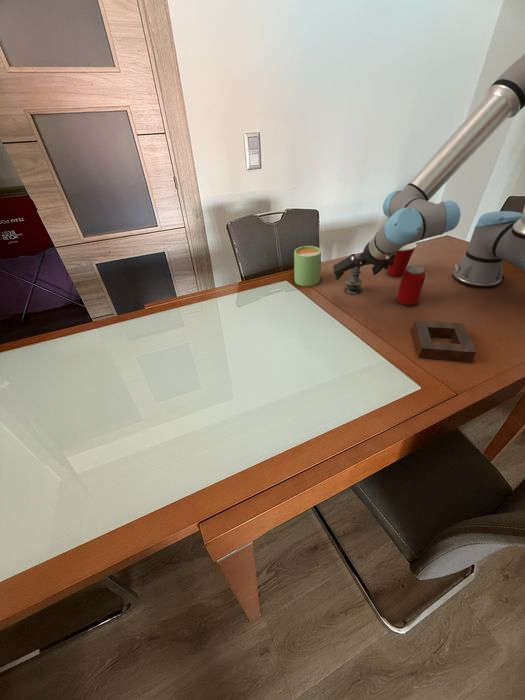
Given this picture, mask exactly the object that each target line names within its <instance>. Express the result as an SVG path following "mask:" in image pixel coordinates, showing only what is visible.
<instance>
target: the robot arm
mask: <svg viewBox="0 0 525 700" xmlns="http://www.w3.org/2000/svg"><path fill="white" fill-rule="evenodd" d="M523 108H525V53H524V54H522V55H521V56H520V57H519V58H518V59H516V60H515V61H514V62H513V63H512V64H511V65H510V66H509V67H508V68H507V69H505V70H504V71H503V73H501V74H500V75H499V76H498V77H497V79H496V80H495V81H494V82H493V83H492V84H491V85H490V86H489V87H488V89H487V90H486V91H485V95H484V99H483V100H482V101H481V102H480V103H479V104H478V106H476V108H475V109H474V110H473V111H472V112H471V113H470V114H469V115H468V117H467V118H465V120H464V121H463V122H462V123H461V125H459V126H458V127H457V129H456V130H455V131H454V132H453V133H452V134H451V135H450V136H449V138H448V139H447V140H446V141H445V142H444V143H443V145H441V146H440V148H439V149H438V150H437V151H436V152H435V153H434V154H433V156H431V158H430V159H429V160H427V162H426V163H425V164H424V165H423V166H422V167H421V169H420V170H419V171H418V172H417V173H416V174H415V175H414V176H413V177H412V179H410V181H409V182H408V183H407V184H406V185H405V186H404V188H402V190H394V191H392V192H390V193H389V194H388V195H387V196H386V197H385V199H384V200H383V204H382V212H383V214H384V216H386V217H387V220H386V221H385V222H384V224H383V226H381V228H380V229H379V230H378V231H377V232H376V233H375V234H374V235H373V236H372V238H371V239H370V240H369V241H368V242H367V244H366V245H364V248H363V251H362V253H360V254H357V255H355V253H351V254H350V255H349V256H347V257H346V258H344V259H342V260H341V261H339V262H337V263H336V264H334V265H332V269H333V274H334V275H335V280H336V281H338V280H340V278H342V277H343V275H344V274H345V272H348V271H351V269H353V268H355V267H360V268H362V267H364V266H369V265H372V267H371V271H372V276H376V275H377V274H379V273H380V272H381V271H382V270H384V271H387V269H388V265H390V266H393V265H394V258H395V257H396V256H395V253H396V252H397V251H398V250H399V249H401V248H402V247H403V246H405V245H408V244H411V243H417V242H420V241H424V240H428V239H430V238H433V237H437V236H441V235H443V234H445V233H448V232H451V231H452V230H453V231H454V229H456V227H458V225H459V223H460V220H461V209H460V206H459V204H457V202H455V201H454V200H446V201H440V202H439V203H434V202H432V201H430V199H432V198H433V196H434V195H435V194H436V193H437V192H438V191H440V189H441V188H442V187H443V186H444V185H445V184H446V183H447V182H448V181H449V180H450V179H451V178H452V177H453V176H454V175H455V173H457V171H458V170H459V169H460V168H461V167H462V166H463V165H464V164H465V163H466V162H467V161H468V160H469V159H470V158H471V157H472V156H473V155H474V154H475V153H476V151H478V150H479V148H481V146H482V145H483V144H484V143H485V142H486V141H487V140H488V139H489V138H490V137H491V136H492V135H493V134H494V133H495V131H497V129H499V128H500V126H501V125H502V124H504V123H505V121H506V120H507V119H510V118H514V117H515V116H516V115H518V114H519V113H520V111H522V110H523ZM388 259H389V260H388ZM504 262H506V263H508V264H510V265H512V266H514V267H516V268H518V269H520V270H523V271H525V206H524V208H523V210H522V212H519V211H518V212H517V211H511V210H509V211H508V210H503V211H502V210H501V211H490V212H486V213H483V214H481V215H480V216H479V218H478V220H477V223H476V225H474V229H473V232H472V234H471V237H470V240H469V243H468V246H467V249H466V252H465V254H464V256H463V258H462V259H461V260H460V261H459V262H458V263H455V265H454V269H453V271H452V274H451V276H452V278H453V280H454V281H456V282H457V283H459V284H461V285H464V286H466V287H472V288H477V289H478V288H479V289H491V288H494V287H496V286H498V285H500V284H501V281H502V280H504V279H505V278H506V276H505V275H503V266H504Z"/></svg>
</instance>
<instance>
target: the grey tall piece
mask: <svg viewBox="0 0 525 700" xmlns="http://www.w3.org/2000/svg"><path fill="white" fill-rule="evenodd" d="M361 273H362V272H361V267H355V268H353V269H350V270H349V275H350V276H349V278H347V279H346V280H345V284H346V288H345V292H346V293H347V294H350V295H357V294H359V293H360V292H361V289H360V287H361V286H362V284H363V280H362V279H360V274H361Z"/></svg>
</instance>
